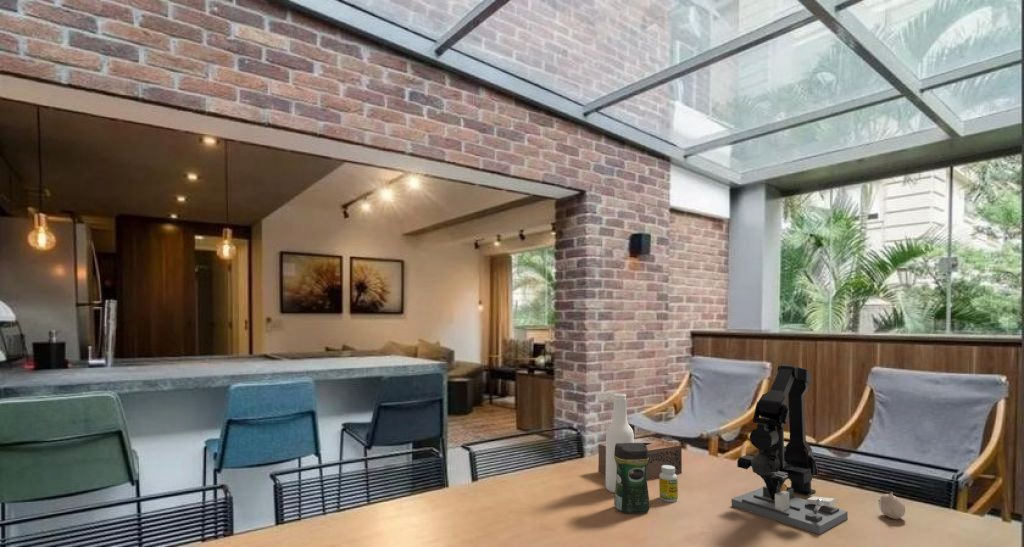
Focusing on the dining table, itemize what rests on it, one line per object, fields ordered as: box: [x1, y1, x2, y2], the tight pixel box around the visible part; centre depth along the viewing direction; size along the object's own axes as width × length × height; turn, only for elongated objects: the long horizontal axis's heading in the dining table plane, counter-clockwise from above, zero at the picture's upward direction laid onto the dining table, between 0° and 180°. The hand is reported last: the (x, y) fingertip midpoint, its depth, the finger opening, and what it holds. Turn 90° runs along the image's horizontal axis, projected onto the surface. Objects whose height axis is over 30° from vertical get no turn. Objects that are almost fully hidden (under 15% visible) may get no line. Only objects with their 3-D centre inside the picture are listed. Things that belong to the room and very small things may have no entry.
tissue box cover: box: [597, 436, 683, 481], centre depth 182 cm, size 26×14×10 cm, turn 120°
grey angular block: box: [775, 491, 790, 511], centre depth 144 cm, size 5×2×4 cm, turn 127°
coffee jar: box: [613, 443, 651, 514], centre depth 148 cm, size 10×8×19 cm
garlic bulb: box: [877, 491, 906, 520], centre depth 145 cm, size 7×6×8 cm
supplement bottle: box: [658, 465, 679, 503], centre depth 156 cm, size 5×5×10 cm
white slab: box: [806, 496, 837, 507], centre depth 145 cm, size 4×6×1 cm, turn 37°
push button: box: [780, 483, 788, 491], centre depth 155 cm, size 4×4×3 cm
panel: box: [731, 485, 849, 535], centre depth 147 cm, size 18×24×4 cm
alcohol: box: [605, 392, 635, 494], centre depth 165 cm, size 9×9×30 cm
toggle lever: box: [813, 499, 824, 514], centre depth 137 cm, size 2×2×4 cm
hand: (773, 499), depth 146 cm, fingers closed
